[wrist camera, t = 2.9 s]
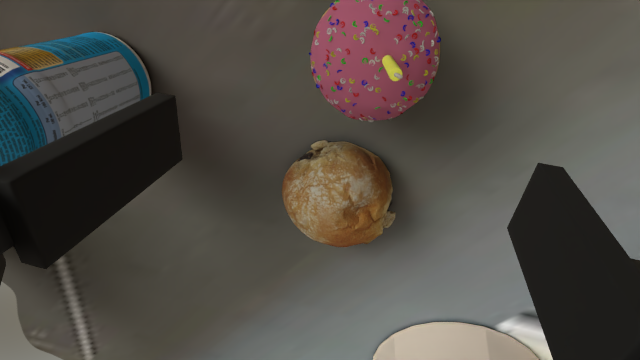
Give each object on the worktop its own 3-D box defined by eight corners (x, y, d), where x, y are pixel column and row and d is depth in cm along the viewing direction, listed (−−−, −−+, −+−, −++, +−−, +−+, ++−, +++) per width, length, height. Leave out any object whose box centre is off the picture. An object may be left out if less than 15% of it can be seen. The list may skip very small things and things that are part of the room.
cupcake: (419, -39, 24) (424, -45, 14) (449, 80, 28) (470, 143, 18) (307, 12, 28) (245, 37, 17) (346, 114, 31) (313, 184, 21)
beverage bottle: (173, 92, 33) (-70, 215, 17) (122, 133, 37) (-119, 269, 20) (106, 8, 31) (-262, 55, 14) (58, 62, 35) (-278, 150, 18)
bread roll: (366, 117, 34) (326, 116, 27) (425, 209, 33) (400, 233, 26) (295, 171, 39) (246, 182, 32) (344, 254, 38) (304, 284, 31)
